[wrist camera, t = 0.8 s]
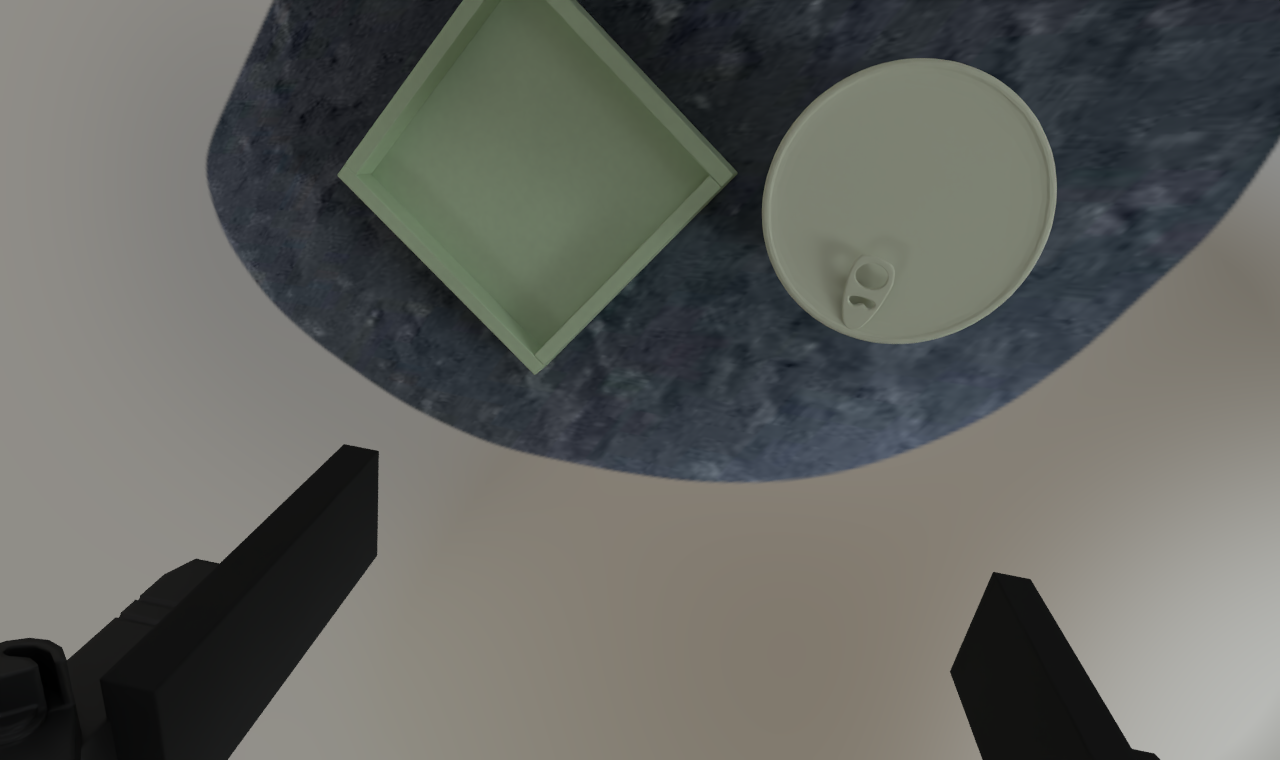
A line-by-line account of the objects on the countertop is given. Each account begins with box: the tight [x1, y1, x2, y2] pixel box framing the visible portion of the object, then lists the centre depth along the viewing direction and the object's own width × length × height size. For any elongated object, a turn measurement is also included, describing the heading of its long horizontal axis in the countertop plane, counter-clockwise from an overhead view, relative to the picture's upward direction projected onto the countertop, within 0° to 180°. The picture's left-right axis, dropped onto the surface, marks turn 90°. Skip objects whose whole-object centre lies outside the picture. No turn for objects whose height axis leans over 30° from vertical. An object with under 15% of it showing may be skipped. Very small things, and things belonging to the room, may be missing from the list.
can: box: [762, 58, 1057, 344], centre depth 29 cm, size 9×9×12 cm
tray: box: [337, 0, 738, 375], centre depth 37 cm, size 15×15×2 cm
